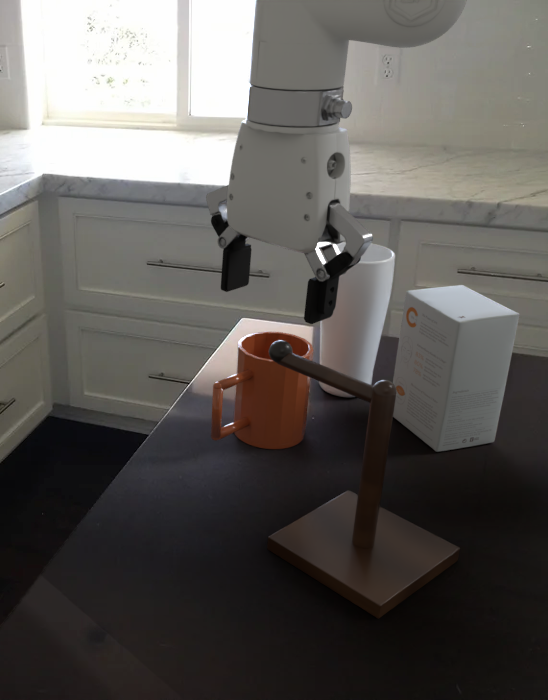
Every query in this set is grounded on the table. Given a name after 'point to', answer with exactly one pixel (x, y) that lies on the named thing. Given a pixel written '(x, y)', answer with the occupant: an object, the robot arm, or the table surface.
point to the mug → (265, 394)
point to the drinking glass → (358, 317)
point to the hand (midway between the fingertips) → (274, 303)
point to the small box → (452, 366)
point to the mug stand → (361, 515)
